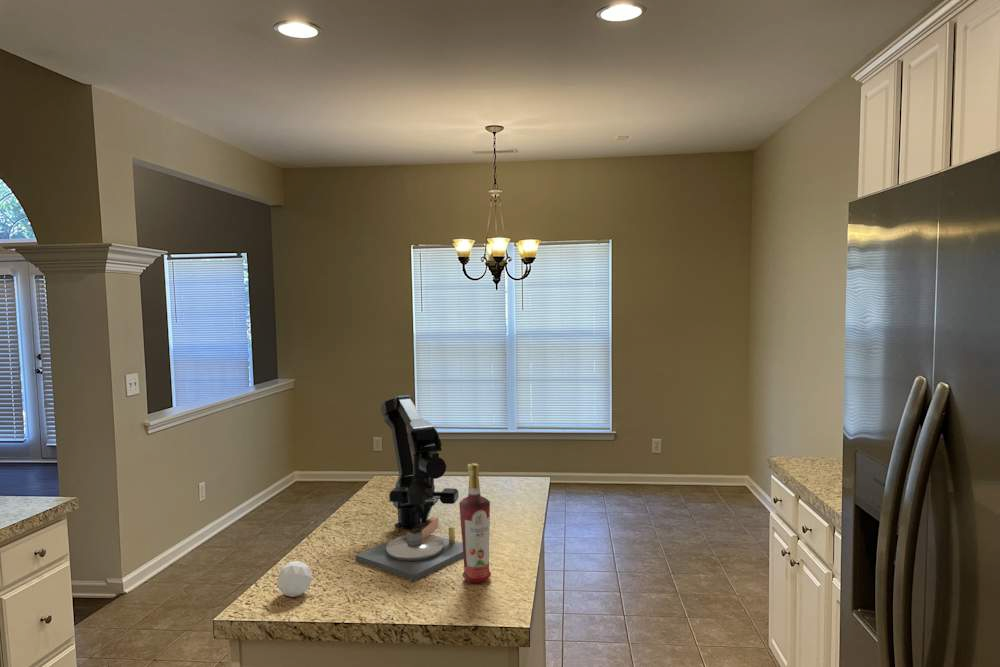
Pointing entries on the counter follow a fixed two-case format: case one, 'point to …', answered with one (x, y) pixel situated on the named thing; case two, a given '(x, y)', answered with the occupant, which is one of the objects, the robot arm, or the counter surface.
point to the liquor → (475, 530)
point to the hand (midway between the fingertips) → (424, 525)
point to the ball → (294, 578)
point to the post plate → (413, 568)
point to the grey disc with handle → (417, 543)
